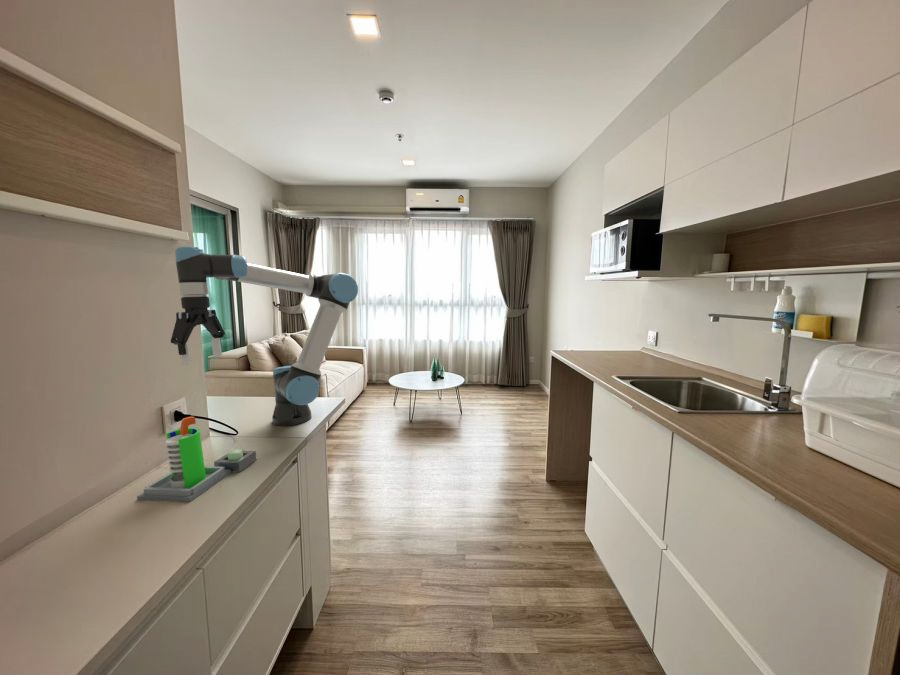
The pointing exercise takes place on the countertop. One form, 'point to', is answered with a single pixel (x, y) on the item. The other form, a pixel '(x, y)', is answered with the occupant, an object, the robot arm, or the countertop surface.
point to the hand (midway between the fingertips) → (203, 360)
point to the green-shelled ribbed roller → (185, 455)
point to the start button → (235, 454)
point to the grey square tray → (165, 492)
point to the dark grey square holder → (236, 461)
